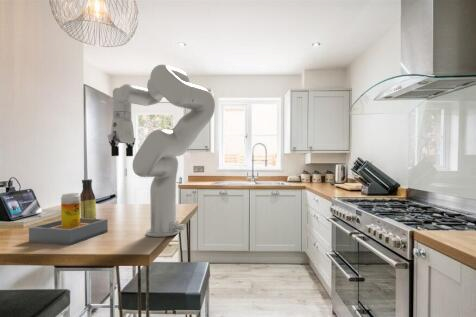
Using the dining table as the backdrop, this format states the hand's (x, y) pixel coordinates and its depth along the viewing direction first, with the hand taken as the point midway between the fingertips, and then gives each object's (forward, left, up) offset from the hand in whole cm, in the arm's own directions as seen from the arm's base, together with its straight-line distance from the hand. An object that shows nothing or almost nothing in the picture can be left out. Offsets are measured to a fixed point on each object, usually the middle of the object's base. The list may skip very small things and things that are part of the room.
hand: (122, 156), depth 125 cm
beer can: (+8, +20, -30) cm, 36 cm away
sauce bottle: (+20, -2, -31) cm, 37 cm away
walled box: (+8, +20, -30) cm, 37 cm away
